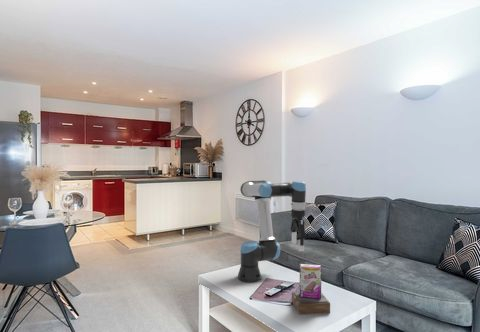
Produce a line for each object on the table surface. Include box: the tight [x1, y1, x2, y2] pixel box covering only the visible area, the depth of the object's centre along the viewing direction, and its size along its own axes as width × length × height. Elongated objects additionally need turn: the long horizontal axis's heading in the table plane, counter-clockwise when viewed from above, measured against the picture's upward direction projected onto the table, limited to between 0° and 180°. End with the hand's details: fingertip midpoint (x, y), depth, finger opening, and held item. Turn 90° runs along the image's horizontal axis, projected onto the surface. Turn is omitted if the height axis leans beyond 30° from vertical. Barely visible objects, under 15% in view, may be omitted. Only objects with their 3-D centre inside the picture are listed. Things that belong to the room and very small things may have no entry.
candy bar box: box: [298, 263, 322, 299], centre depth 158 cm, size 11×5×16 cm, turn 80°
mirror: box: [291, 291, 331, 315], centre depth 158 cm, size 14×16×6 cm
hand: (297, 247), depth 166 cm, fingers open, 13 cm apart
